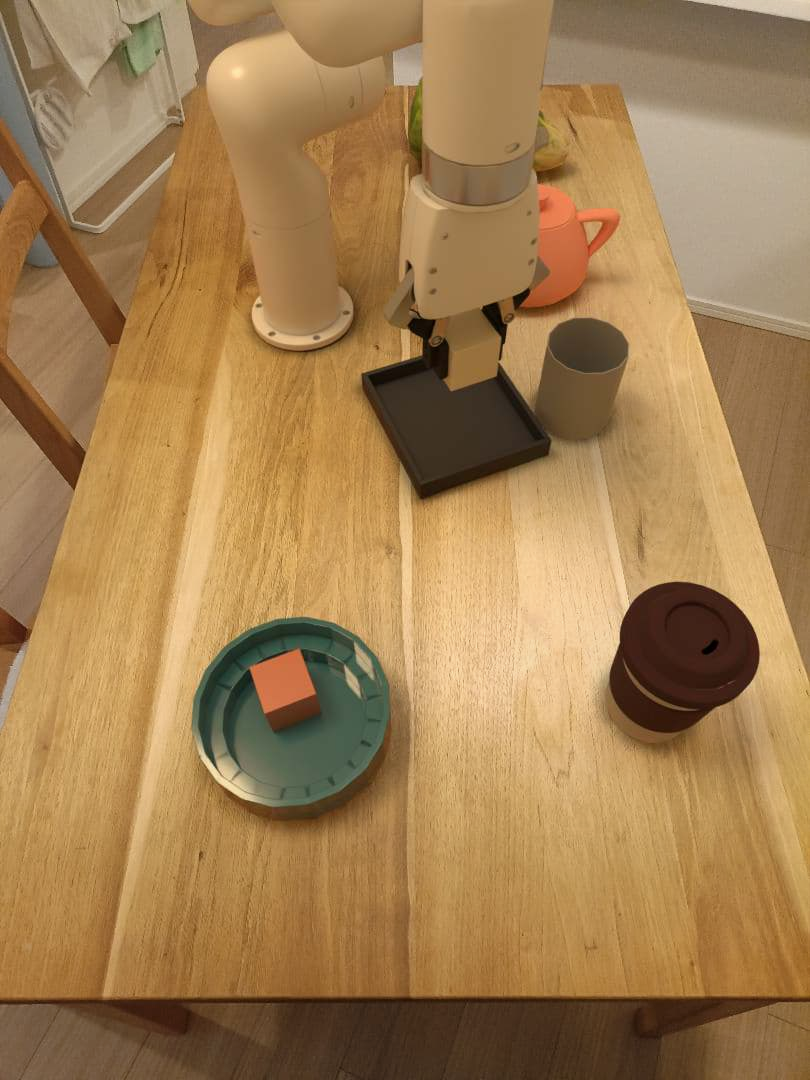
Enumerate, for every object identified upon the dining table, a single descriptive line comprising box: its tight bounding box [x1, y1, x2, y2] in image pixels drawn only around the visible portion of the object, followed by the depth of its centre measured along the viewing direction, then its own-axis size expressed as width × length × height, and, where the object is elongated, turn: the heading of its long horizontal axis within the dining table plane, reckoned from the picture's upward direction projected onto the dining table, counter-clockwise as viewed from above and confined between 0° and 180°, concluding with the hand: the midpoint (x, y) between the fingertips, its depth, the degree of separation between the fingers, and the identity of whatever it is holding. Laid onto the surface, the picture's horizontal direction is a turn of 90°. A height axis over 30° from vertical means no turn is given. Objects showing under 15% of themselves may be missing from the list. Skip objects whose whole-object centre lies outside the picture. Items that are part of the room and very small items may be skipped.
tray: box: [360, 354, 553, 500], centre depth 85 cm, size 17×15×2 cm
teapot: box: [518, 183, 621, 309], centre depth 94 cm, size 22×15×12 cm
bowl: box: [190, 616, 393, 822], centre depth 65 cm, size 16×16×5 cm
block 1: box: [249, 649, 322, 732], centre depth 66 cm, size 4×4×4 cm
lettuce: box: [407, 76, 570, 173], centre depth 108 cm, size 14×23×13 cm, turn 81°
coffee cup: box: [604, 581, 761, 744], centre depth 62 cm, size 10×10×15 cm
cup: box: [533, 316, 630, 441], centre depth 83 cm, size 8×8×10 cm
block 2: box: [443, 307, 501, 391], centre depth 66 cm, size 4×4×4 cm
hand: (463, 358), depth 67 cm, fingers closed on block 2, 4 cm apart
